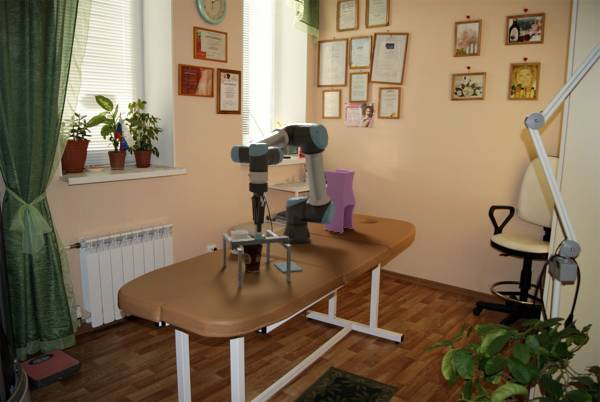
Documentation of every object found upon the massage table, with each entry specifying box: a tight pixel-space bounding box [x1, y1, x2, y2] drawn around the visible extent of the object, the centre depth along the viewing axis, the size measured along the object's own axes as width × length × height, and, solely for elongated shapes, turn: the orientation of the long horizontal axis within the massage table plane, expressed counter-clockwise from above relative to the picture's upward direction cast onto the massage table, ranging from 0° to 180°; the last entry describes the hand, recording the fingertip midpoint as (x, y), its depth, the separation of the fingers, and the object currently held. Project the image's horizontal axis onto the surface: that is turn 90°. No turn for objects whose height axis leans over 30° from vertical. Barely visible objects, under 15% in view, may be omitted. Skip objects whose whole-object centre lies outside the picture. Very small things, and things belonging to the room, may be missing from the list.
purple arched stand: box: [323, 168, 356, 234], centre depth 282 cm, size 14×14×35 cm
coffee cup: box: [242, 244, 264, 273], centre depth 207 cm, size 9×8×13 cm
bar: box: [229, 234, 290, 251], centre depth 195 cm, size 3×24×5 cm, turn 112°
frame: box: [222, 229, 292, 288], centre depth 202 cm, size 28×22×15 cm
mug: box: [230, 229, 252, 255], centre depth 233 cm, size 12×8×10 cm
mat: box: [273, 261, 303, 273], centre depth 213 cm, size 12×9×1 cm
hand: (258, 239), depth 197 cm, fingers closed
